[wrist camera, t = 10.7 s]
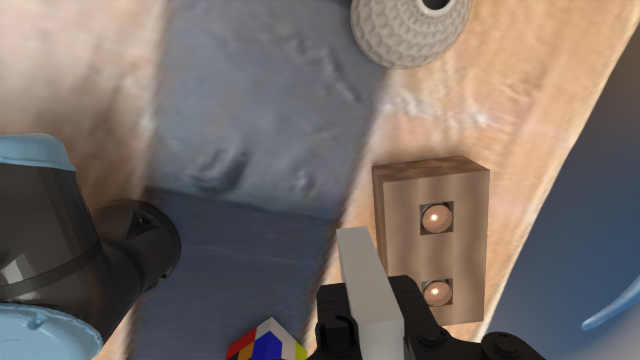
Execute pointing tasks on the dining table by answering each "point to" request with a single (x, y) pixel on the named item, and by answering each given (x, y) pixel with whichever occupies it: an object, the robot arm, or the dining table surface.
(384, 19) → the vase
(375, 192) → the socket block
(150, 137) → the dining table surface
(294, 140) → the dining table surface
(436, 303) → the peg
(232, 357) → the puzzle toy
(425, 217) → the peg
